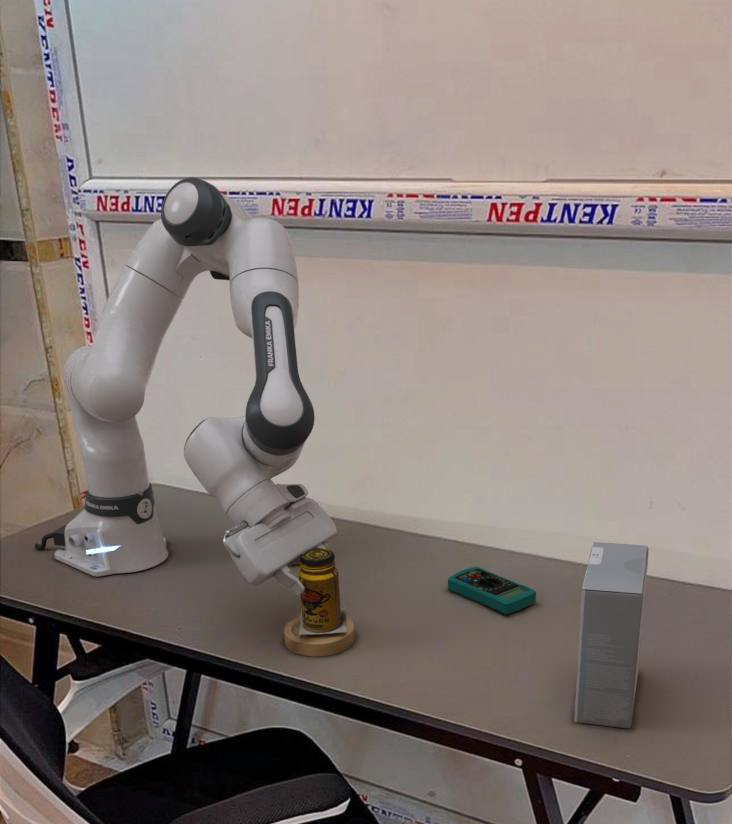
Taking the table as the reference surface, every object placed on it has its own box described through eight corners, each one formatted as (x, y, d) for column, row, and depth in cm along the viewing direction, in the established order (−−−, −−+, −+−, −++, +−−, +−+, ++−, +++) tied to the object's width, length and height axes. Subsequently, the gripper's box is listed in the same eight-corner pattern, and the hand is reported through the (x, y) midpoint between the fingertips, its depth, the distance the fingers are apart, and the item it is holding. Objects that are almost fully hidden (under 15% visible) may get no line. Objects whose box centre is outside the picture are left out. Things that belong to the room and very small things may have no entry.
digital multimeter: (474, 577, 171) (475, 562, 170) (537, 604, 161) (538, 588, 160) (444, 590, 167) (444, 574, 166) (506, 618, 157) (507, 601, 156)
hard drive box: (584, 667, 142) (593, 540, 133) (638, 673, 140) (651, 544, 131) (572, 723, 128) (581, 586, 120) (632, 730, 126) (645, 592, 117)
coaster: (270, 646, 151) (269, 634, 150) (311, 618, 159) (310, 606, 158) (329, 663, 146) (328, 650, 145) (367, 633, 154) (367, 620, 153)
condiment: (299, 635, 148) (293, 563, 143) (300, 611, 156) (295, 542, 150) (346, 633, 148) (342, 561, 143) (346, 609, 156) (342, 539, 150)
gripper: (227, 523, 139) (288, 598, 138) (309, 481, 154) (364, 548, 154) (207, 546, 143) (266, 619, 142) (288, 503, 158) (341, 569, 158)
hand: (317, 582), depth 148 cm, fingers closed on condiment, 6 cm apart
